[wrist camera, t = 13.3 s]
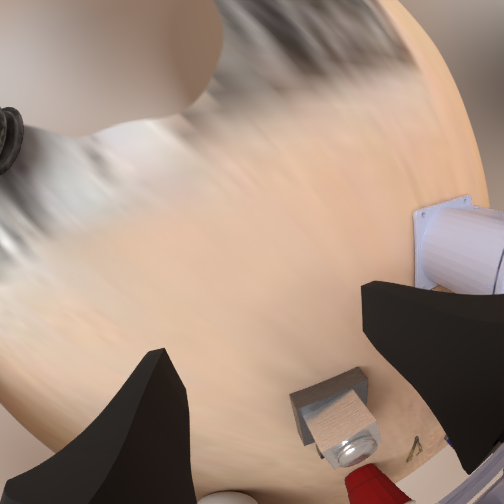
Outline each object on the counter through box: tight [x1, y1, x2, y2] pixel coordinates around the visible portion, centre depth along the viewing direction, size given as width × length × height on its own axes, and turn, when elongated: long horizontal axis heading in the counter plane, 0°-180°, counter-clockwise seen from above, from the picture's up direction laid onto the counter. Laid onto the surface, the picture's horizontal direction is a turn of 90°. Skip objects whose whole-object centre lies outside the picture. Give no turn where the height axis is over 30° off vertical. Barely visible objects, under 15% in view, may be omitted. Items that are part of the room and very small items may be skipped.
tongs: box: [407, 436, 423, 463], centre depth 35 cm, size 4×13×2 cm, turn 30°
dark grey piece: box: [290, 367, 368, 459], centre depth 22 cm, size 7×13×5 cm, turn 13°
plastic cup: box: [345, 464, 416, 504], centre depth 26 cm, size 11×11×12 cm
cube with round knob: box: [303, 389, 382, 469], centre depth 19 cm, size 5×5×6 cm
